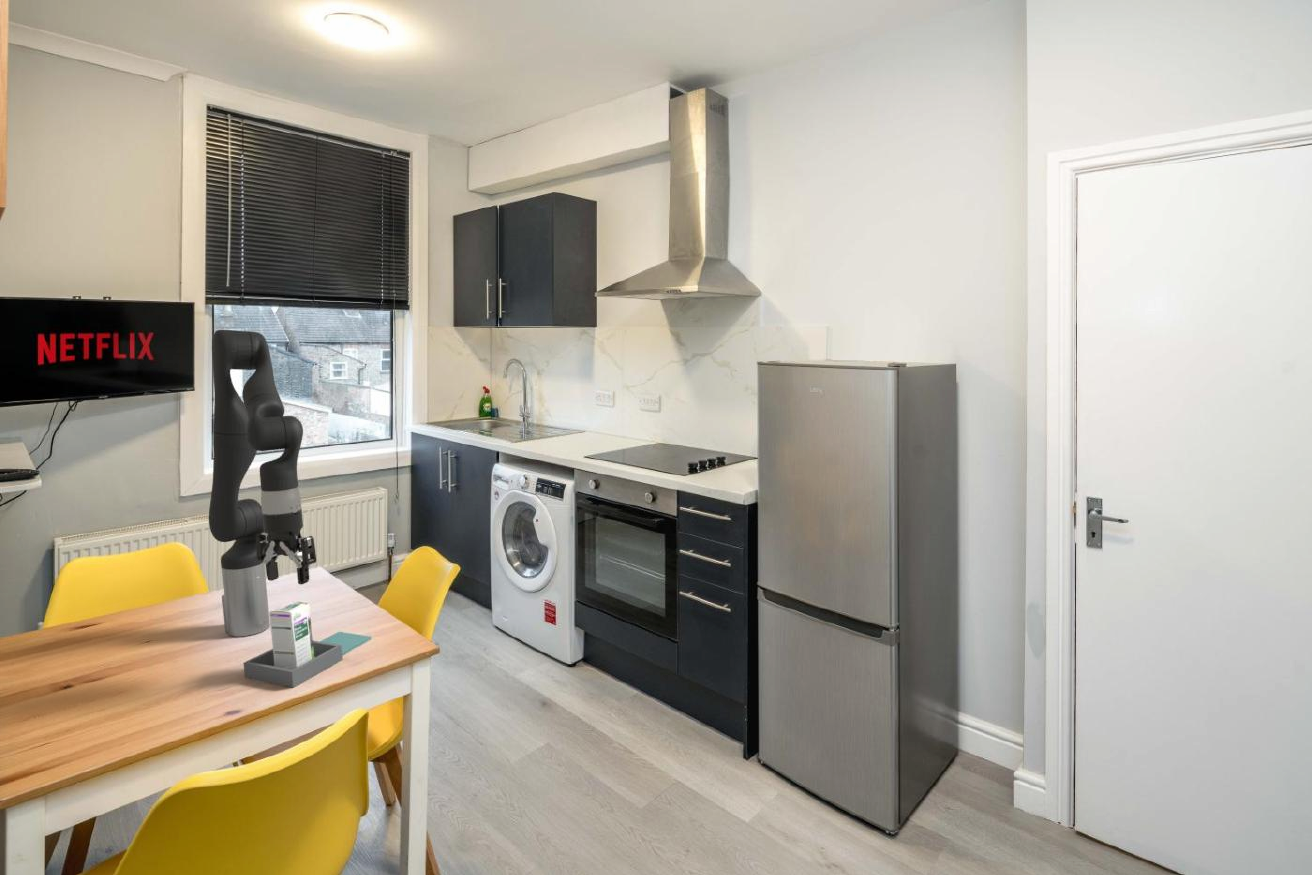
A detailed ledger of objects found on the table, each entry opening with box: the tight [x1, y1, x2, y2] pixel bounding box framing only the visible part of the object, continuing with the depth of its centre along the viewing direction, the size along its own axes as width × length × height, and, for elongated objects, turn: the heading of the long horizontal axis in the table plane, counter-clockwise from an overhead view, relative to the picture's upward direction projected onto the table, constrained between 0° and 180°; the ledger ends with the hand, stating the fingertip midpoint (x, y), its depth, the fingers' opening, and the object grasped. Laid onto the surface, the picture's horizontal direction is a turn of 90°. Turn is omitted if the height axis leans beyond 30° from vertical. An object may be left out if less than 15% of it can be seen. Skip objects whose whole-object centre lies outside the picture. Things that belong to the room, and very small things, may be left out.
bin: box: [243, 640, 343, 688], centre depth 152 cm, size 14×14×4 cm
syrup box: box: [269, 601, 315, 670], centre depth 151 cm, size 6×6×14 cm
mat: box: [319, 631, 372, 656], centre depth 164 cm, size 10×10×1 cm
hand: (288, 581), depth 149 cm, fingers open, 8 cm apart
